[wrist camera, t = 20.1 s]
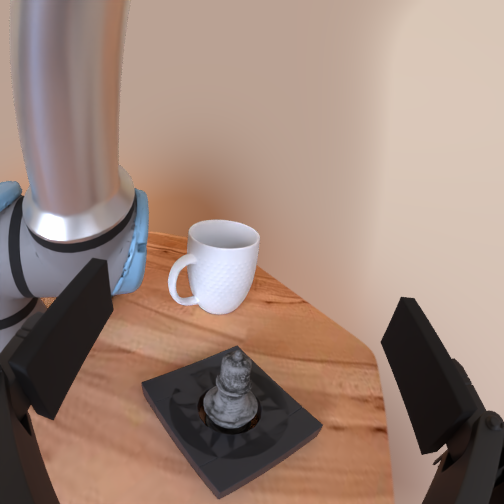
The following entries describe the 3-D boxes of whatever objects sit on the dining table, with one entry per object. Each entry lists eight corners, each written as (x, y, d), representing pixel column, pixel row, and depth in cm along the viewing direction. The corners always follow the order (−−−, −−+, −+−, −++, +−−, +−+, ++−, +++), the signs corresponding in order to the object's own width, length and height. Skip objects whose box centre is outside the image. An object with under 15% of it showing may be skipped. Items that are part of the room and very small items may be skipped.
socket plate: (143, 394, 34) (141, 382, 32) (235, 357, 42) (237, 345, 41) (218, 499, 23) (219, 493, 22) (317, 435, 31) (323, 425, 30)
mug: (189, 341, 44) (191, 262, 38) (154, 302, 50) (152, 230, 45) (263, 309, 53) (275, 239, 47) (223, 279, 60) (229, 215, 54)
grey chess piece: (224, 449, 29) (234, 385, 23) (192, 414, 32) (192, 342, 27) (264, 424, 32) (284, 355, 27) (231, 393, 36) (242, 321, 31)
